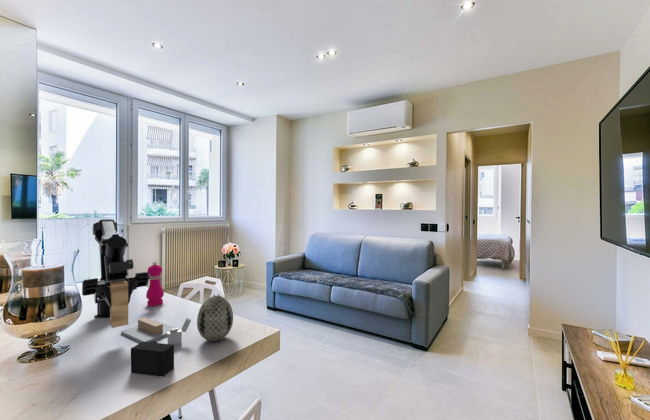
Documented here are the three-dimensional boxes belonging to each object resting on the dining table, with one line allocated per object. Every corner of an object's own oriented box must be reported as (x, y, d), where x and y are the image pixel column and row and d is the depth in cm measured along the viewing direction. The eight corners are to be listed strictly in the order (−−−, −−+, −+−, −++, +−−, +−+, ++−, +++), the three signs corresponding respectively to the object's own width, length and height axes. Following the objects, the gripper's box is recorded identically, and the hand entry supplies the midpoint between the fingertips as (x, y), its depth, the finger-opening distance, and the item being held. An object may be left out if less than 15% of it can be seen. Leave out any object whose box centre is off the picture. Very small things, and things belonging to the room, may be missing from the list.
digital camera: (177, 366, 85) (177, 342, 85) (163, 377, 79) (163, 351, 79) (146, 362, 87) (146, 339, 87) (130, 373, 82) (130, 347, 81)
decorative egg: (189, 344, 98) (188, 299, 98) (214, 330, 109) (214, 290, 109) (217, 350, 94) (216, 303, 94) (240, 335, 105) (240, 293, 105)
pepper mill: (167, 301, 142) (166, 260, 142) (157, 306, 135) (156, 263, 134) (153, 301, 143) (152, 260, 142) (142, 306, 135) (142, 263, 135)
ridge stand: (121, 333, 106) (121, 322, 106) (154, 322, 116) (154, 312, 116) (144, 344, 98) (144, 332, 98) (178, 331, 108) (178, 320, 108)
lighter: (167, 347, 96) (167, 322, 96) (167, 344, 98) (167, 320, 98) (191, 342, 100) (191, 318, 100) (190, 340, 101) (190, 317, 101)
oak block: (110, 323, 99) (109, 282, 99) (126, 320, 102) (125, 280, 102) (112, 328, 96) (111, 285, 96) (128, 324, 99) (128, 282, 99)
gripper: (82, 255, 95) (84, 297, 87) (148, 249, 108) (155, 286, 100) (81, 275, 101) (83, 316, 93) (143, 267, 114) (150, 303, 106)
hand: (119, 304), depth 98 cm, fingers closed on oak block, 4 cm apart
